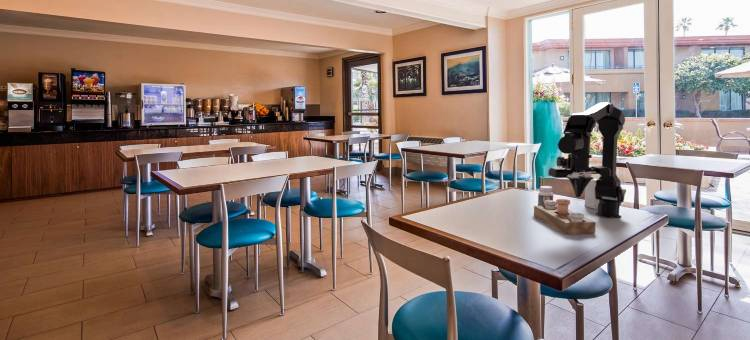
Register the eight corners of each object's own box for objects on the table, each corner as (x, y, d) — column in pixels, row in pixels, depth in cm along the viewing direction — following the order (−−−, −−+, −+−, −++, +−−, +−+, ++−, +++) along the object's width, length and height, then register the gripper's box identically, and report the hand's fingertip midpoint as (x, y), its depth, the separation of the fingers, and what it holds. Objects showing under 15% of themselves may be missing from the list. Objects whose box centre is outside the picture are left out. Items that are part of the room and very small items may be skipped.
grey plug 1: (552, 215, 163) (553, 200, 162) (558, 218, 158) (559, 202, 157) (541, 215, 162) (542, 200, 162) (546, 218, 158) (547, 203, 157)
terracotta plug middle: (565, 214, 153) (566, 198, 152) (571, 217, 148) (572, 201, 148) (553, 215, 153) (553, 199, 152) (559, 218, 148) (560, 201, 147)
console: (558, 214, 164) (559, 205, 163) (595, 233, 139) (595, 221, 138) (533, 215, 163) (534, 205, 162) (565, 234, 138) (566, 222, 138)
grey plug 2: (578, 228, 144) (579, 211, 143) (586, 232, 139) (587, 215, 138) (565, 229, 144) (566, 212, 143) (572, 232, 139) (573, 215, 138)
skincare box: (603, 208, 172) (604, 179, 171) (593, 209, 171) (595, 180, 170) (592, 205, 178) (594, 177, 177) (583, 206, 177) (584, 178, 176)
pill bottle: (554, 212, 168) (555, 188, 166) (539, 212, 169) (540, 188, 167) (550, 209, 173) (551, 185, 172) (536, 208, 174) (537, 185, 173)
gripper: (593, 148, 147) (591, 191, 149) (541, 149, 146) (540, 193, 148) (612, 151, 136) (610, 198, 138) (557, 153, 135) (555, 199, 137)
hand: (577, 196), depth 141 cm, fingers closed
